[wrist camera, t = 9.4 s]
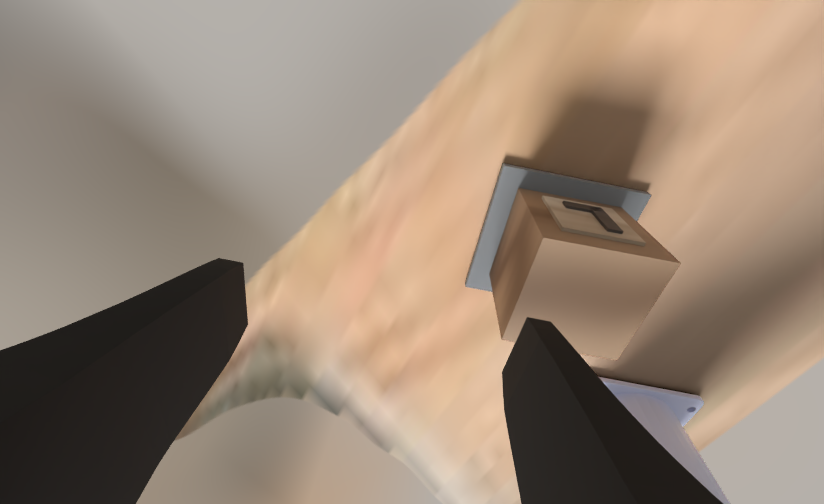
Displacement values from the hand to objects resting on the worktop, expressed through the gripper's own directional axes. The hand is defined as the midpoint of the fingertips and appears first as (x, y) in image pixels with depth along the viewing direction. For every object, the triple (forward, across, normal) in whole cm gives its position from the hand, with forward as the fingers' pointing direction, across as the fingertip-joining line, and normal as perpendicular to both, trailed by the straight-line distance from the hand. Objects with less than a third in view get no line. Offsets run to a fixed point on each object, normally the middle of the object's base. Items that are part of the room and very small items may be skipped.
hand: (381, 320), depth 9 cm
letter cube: (+10, -8, +1) cm, 12 cm away
